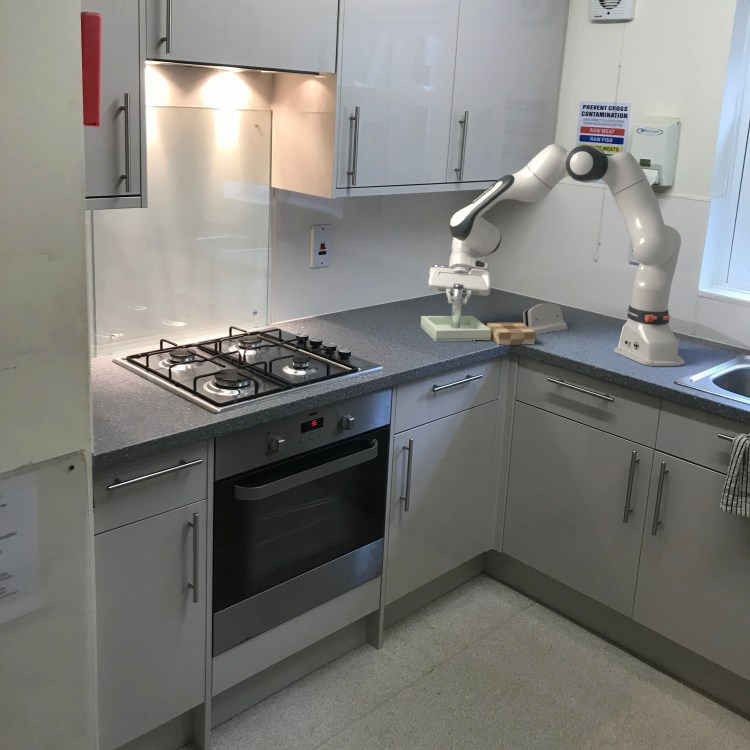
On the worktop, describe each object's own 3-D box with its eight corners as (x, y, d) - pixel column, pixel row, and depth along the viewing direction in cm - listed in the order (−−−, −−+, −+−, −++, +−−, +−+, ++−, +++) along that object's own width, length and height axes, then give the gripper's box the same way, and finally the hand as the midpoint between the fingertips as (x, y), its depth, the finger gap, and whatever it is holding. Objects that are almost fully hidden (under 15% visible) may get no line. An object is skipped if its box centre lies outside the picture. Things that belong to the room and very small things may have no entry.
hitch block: (534, 344, 283) (535, 332, 282) (498, 345, 280) (499, 332, 279) (520, 334, 294) (521, 322, 293) (485, 334, 291) (486, 322, 290)
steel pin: (461, 328, 289) (464, 285, 285) (452, 328, 288) (455, 286, 284) (458, 325, 292) (461, 283, 288) (449, 326, 291) (452, 283, 287)
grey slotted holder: (534, 335, 293) (529, 305, 293) (524, 336, 297) (519, 307, 297) (568, 329, 303) (563, 299, 303) (557, 330, 307) (553, 301, 307)
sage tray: (490, 340, 285) (491, 330, 283) (435, 341, 281) (436, 330, 279) (472, 325, 301) (473, 315, 300) (420, 326, 297) (421, 316, 296)
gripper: (430, 259, 292) (424, 294, 286) (493, 264, 289) (488, 300, 283) (430, 270, 298) (425, 305, 292) (492, 275, 294) (488, 310, 288)
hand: (457, 302), depth 287 cm, fingers closed on steel pin, 3 cm apart
